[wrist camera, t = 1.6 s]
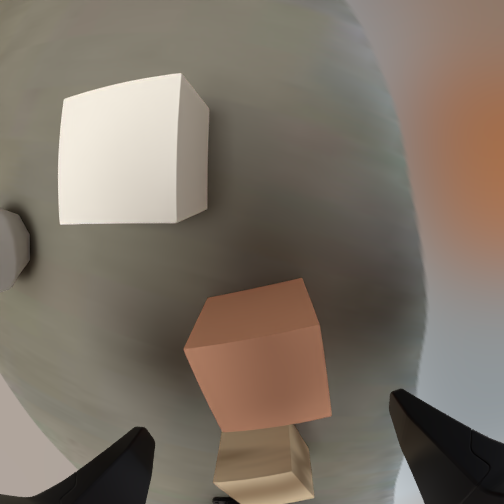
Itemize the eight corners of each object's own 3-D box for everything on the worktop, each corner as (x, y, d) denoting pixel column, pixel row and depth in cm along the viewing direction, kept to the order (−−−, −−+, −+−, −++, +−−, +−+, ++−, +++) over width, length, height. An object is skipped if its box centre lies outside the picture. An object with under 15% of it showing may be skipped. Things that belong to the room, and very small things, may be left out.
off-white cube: (207, 209, 13) (176, 223, 9) (118, 210, 14) (60, 224, 9) (209, 109, 12) (181, 73, 7) (120, 119, 12) (64, 98, 8)
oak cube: (308, 447, 17) (314, 497, 13) (250, 460, 18) (247, 508, 13) (287, 413, 16) (291, 471, 12) (222, 428, 17) (212, 482, 12)
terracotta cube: (316, 355, 15) (331, 416, 10) (233, 370, 16) (222, 432, 11) (301, 277, 14) (319, 324, 9) (207, 297, 14) (183, 349, 10)
